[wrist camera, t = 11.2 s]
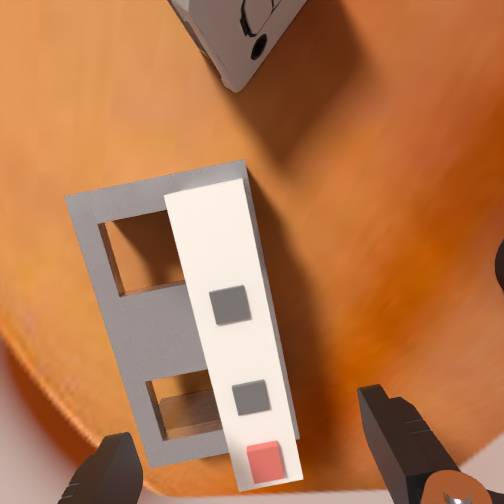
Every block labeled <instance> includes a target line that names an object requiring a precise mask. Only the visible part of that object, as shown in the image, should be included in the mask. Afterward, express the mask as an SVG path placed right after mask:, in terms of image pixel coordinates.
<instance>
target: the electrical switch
mask: <svg viewBox="0 0 504 504" xmlns="http://www.w3.org/2000/svg"><path fill="white" fill-rule="evenodd" d="M167 1H168V2H169V4H170V5H171V7H172V8H173V10H174V11H175V13H176V15H177V16H178V18H179V19H180V21H181V22H182V24H183V25H184V27H185V28H186V30H187V31H188V33H189V35H190V36H191V38H192V39H193V41H194V42H195V44H196V45H197V47H198V48H199V49H200V50H202V51H203V52H204V53H206V54H207V55H208V56H210V60H212V61H213V63H214V65H215V66H216V68H217V70H218V71H219V73H220V75H221V76H222V77H221V78H220V79H221V81H222V82H223V84H224V86H225V87H227V88H228V89H230V90H231V91H233V92H234V93H237V92H240V91H241V90H243V88H244V87H245V86H246V84H247V83H248V82H249V80H250V79H251V77H252V76H253V75H254V73H255V72H256V70H257V69H258V68H259V66H260V65H261V63H262V62H263V61H264V59H265V58H266V57H267V55H268V54H269V52H270V51H271V50H272V48H273V47H274V45H275V44H276V43H277V41H278V40H279V38H280V37H281V36H282V34H283V33H284V32H285V30H286V29H287V27H288V26H289V25H290V23H291V22H292V20H293V19H294V18H295V16H296V15H297V13H298V12H299V11H300V9H301V8H302V6H303V5H304V4H305V2H306V1H307V0H167Z"/></svg>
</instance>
